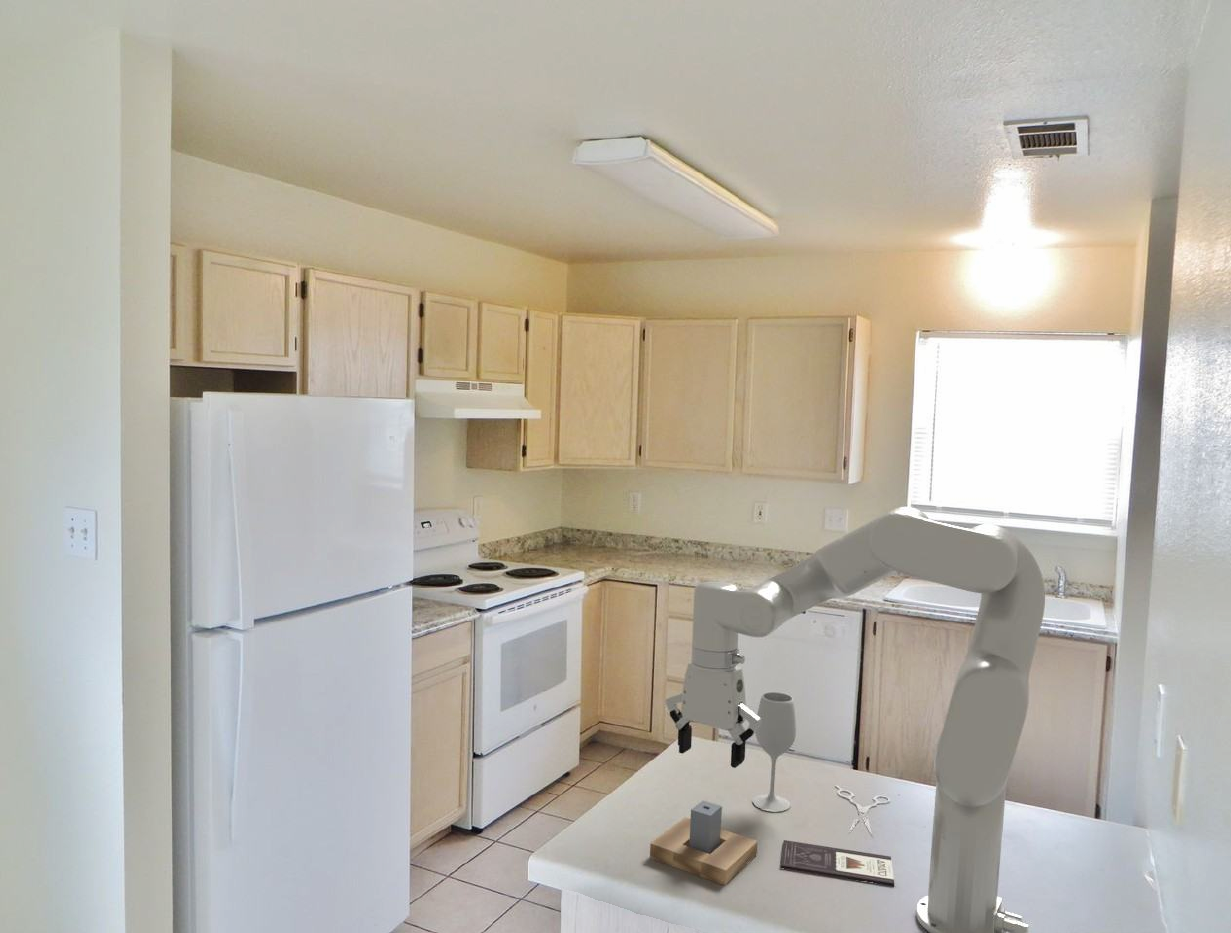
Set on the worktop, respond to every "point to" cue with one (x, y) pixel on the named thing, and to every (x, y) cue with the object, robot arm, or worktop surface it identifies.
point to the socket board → (703, 853)
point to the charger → (705, 827)
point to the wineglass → (775, 739)
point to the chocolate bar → (837, 863)
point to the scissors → (860, 808)
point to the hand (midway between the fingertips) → (710, 757)
